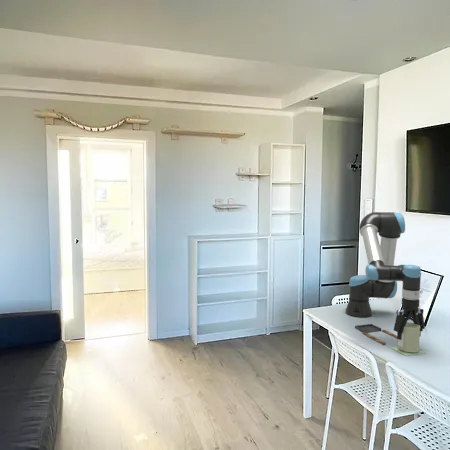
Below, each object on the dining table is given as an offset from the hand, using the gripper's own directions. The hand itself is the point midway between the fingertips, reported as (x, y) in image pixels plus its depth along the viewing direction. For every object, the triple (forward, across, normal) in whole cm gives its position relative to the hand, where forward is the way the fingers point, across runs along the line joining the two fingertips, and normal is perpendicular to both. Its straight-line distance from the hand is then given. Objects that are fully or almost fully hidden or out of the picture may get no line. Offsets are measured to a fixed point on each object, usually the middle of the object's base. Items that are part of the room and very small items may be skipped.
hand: (408, 344), depth 189 cm
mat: (+3, 0, 0) cm, 3 cm away
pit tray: (+3, 0, +30) cm, 30 cm away
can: (+2, 0, 0) cm, 2 cm away
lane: (+3, 0, +17) cm, 17 cm away
